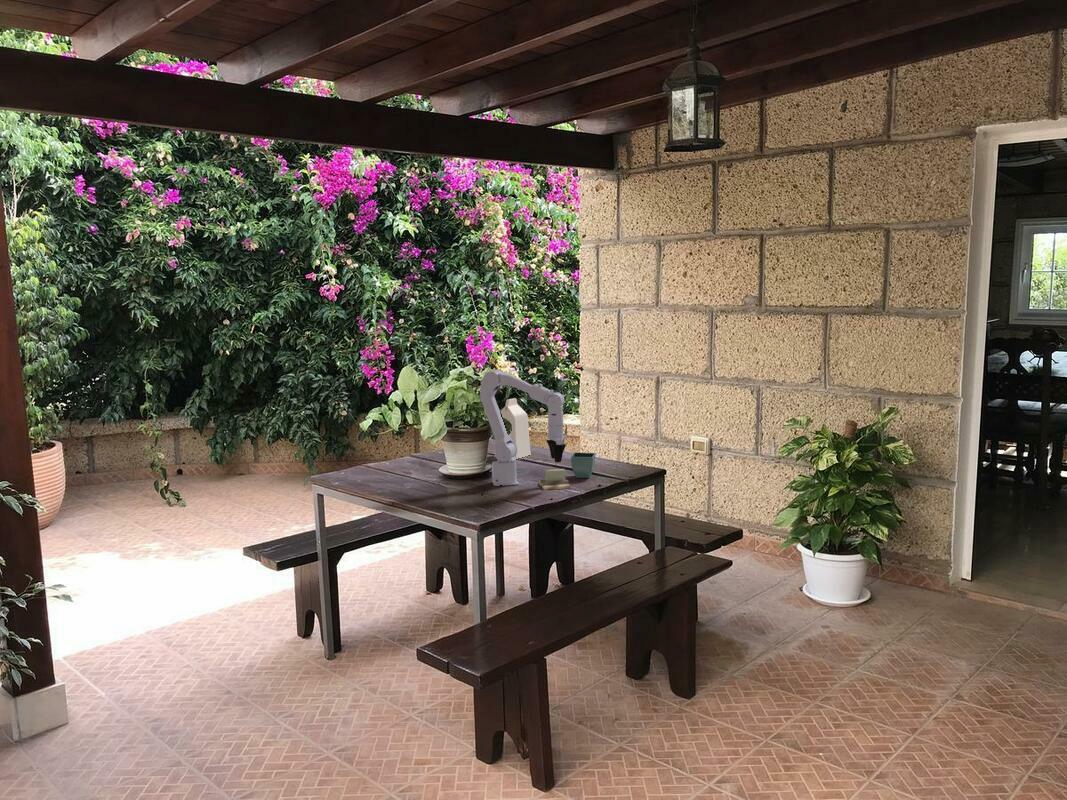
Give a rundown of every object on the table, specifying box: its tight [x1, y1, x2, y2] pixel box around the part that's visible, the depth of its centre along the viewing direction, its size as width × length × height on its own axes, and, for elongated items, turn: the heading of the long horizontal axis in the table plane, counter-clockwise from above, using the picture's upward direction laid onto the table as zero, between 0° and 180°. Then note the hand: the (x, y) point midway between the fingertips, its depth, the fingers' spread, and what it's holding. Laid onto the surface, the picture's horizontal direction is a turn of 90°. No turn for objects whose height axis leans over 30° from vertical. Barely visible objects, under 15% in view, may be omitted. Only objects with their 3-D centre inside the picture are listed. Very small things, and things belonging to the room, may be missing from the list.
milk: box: [494, 397, 532, 459], centre depth 385 cm, size 12×12×26 cm
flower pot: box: [570, 452, 596, 479], centre depth 342 cm, size 9×9×9 cm
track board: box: [538, 477, 571, 491], centre depth 329 cm, size 10×12×2 cm
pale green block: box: [545, 468, 566, 481], centre depth 329 cm, size 7×2×5 cm, turn 99°
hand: (556, 460), depth 328 cm, fingers open, 7 cm apart
